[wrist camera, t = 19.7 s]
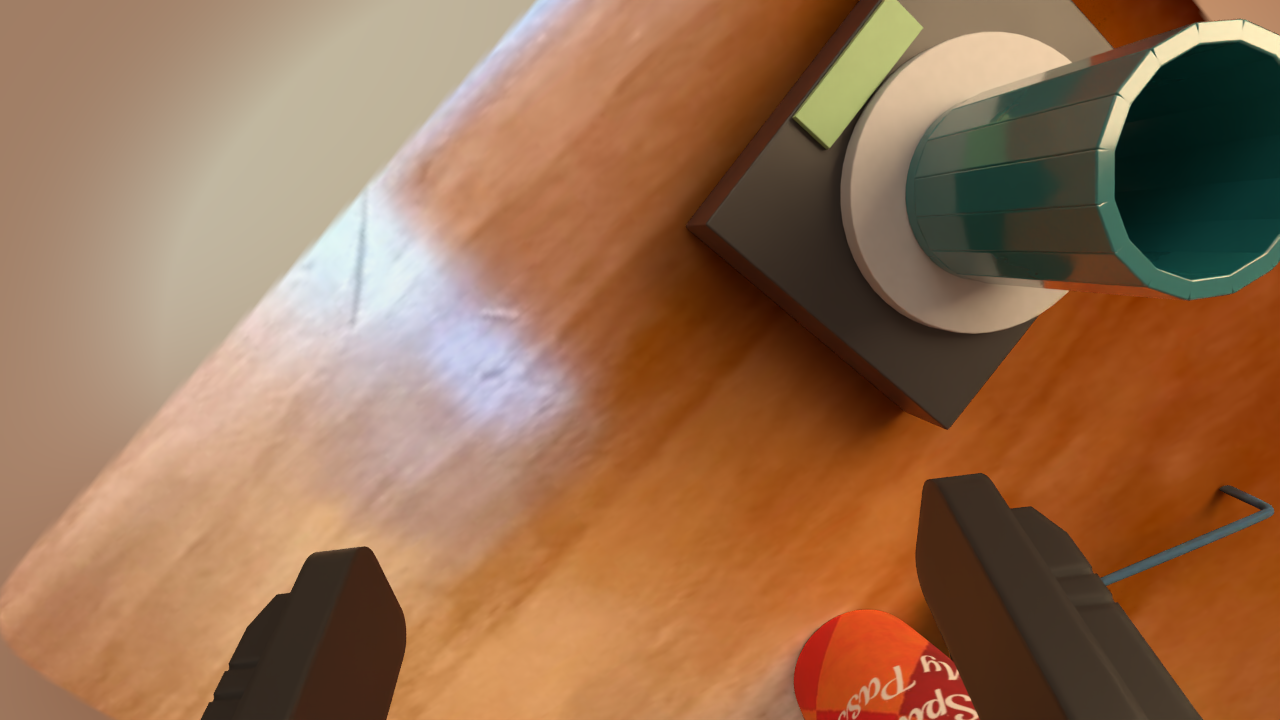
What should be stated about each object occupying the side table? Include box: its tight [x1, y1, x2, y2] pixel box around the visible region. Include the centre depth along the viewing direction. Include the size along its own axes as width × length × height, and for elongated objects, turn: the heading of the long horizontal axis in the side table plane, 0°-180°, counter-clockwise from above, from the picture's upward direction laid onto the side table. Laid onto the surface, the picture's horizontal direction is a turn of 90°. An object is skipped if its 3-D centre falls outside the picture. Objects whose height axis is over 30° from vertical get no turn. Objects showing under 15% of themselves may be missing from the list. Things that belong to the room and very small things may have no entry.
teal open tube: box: [905, 19, 1280, 301], centre depth 20 cm, size 6×6×8 cm
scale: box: [686, 0, 1114, 430], centre depth 26 cm, size 12×14×4 cm
